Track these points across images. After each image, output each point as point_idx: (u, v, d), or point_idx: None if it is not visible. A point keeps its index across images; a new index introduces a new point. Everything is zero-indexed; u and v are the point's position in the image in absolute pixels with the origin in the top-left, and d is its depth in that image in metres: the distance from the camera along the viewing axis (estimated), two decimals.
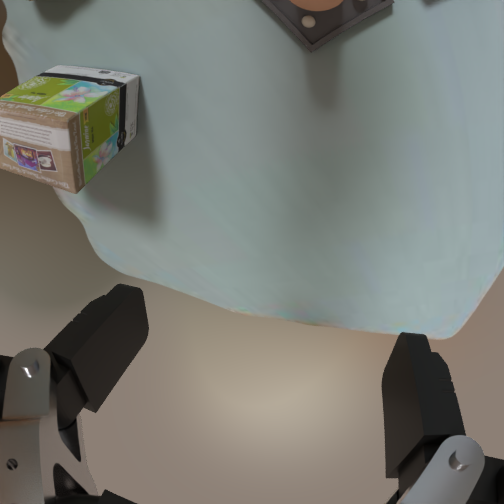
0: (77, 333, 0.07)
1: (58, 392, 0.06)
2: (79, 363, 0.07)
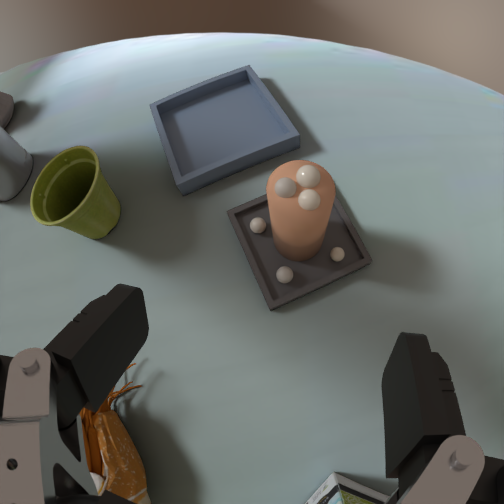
0: (77, 333, 0.07)
1: (58, 392, 0.06)
2: (79, 363, 0.07)
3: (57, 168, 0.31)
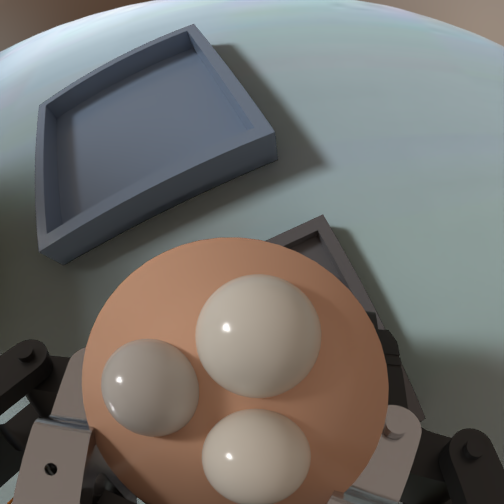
0: None
1: None
2: None
3: None
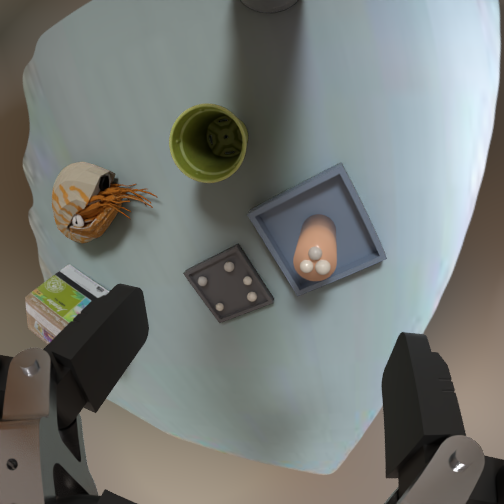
0: (77, 333, 0.07)
1: (58, 392, 0.06)
2: (79, 363, 0.07)
3: (230, 115, 0.34)
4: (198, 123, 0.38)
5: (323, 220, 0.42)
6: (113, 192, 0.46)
